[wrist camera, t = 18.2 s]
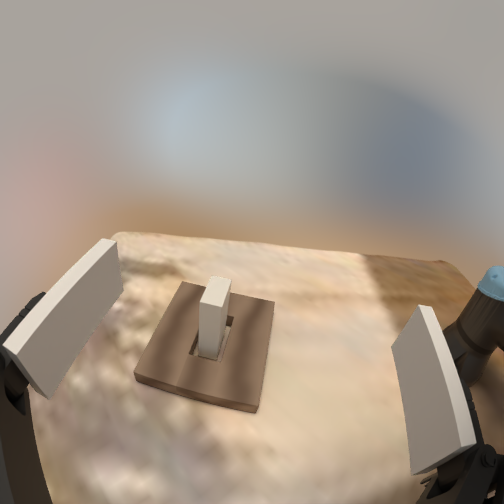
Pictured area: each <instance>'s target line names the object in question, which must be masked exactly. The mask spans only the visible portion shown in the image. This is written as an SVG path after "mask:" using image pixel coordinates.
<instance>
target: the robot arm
mask: <svg viewBox="0 0 504 504" xmlns="http://www.w3.org/2000/svg"><path fill="white" fill-rule="evenodd" d="M123 291H124V290H123V284H122V278H121V272H120V265H119V258H118V250H117V242H116V241H112V240H107V239H104V238H103V239H101V240H100V241H99V242H98V243H97V244H96V245H95V246H94V247H93V248H92V249H91V250H89V251H88V252H87V253H86V254H85V255H84V256H83V257H82V258H81V259H80V260H79V261H78V262H77V263H76V264H75V265H74V266H73V267H72V268H71V269H70V270H69V271H68V272H67V273H66V274H65V275H64V276H63V277H62V278H61V279H60V280H59V281H58V282H57V283H56V284H55V285H54V286H53V287H52V288H51V289H50V290H49V291H48V292H47V293H45V292H42V293H40V294H39V295H37V296H36V297H34V298H32V299H31V300H30V301H29V303H28V304H27V305H26V306H25V308H24V309H22V310H21V312H20V313H19V315H18V316H16V317H15V318H14V320H13V321H12V322H11V323H10V324H9V325H8V327H7V328H6V329H5V330H4V331H3V333H2V334H1V335H0V504H53V503H52V500H51V497H50V494H49V491H48V488H47V485H46V481H45V478H44V474H43V471H42V467H41V463H40V459H39V454H38V450H37V445H36V440H35V435H34V429H33V423H32V416H31V408H30V399H29V392H28V389H27V386H28V384H29V383H30V385H31V386H32V387H33V388H34V390H35V391H36V392H38V393H39V394H41V395H42V396H44V397H45V398H47V399H48V400H50V399H51V397H52V396H53V394H54V392H55V391H56V389H57V387H58V386H59V384H60V382H61V381H62V379H63V378H64V376H65V374H66V373H67V371H68V370H69V368H70V367H71V365H72V363H73V362H74V360H75V359H76V357H77V356H78V354H79V353H80V351H81V350H82V348H83V347H84V345H85V344H86V342H87V341H88V339H89V338H90V337H91V335H92V334H93V332H94V331H95V329H96V328H97V327H98V325H99V324H100V322H101V321H102V319H103V318H104V317H105V315H106V314H107V312H108V311H109V310H110V308H111V307H112V306H113V304H114V303H115V302H116V300H117V299H118V298H119V296H120V295H121V294H122V292H123ZM497 347H499V348H500V349H501V350H503V351H504V267H503V266H493V267H491V268H489V269H488V271H487V272H486V274H485V276H484V277H483V279H482V280H481V281H480V282H479V284H478V288H477V289H476V291H475V293H474V294H473V296H472V297H471V299H470V300H469V302H468V304H467V305H466V307H465V308H464V310H463V311H462V313H461V314H460V316H459V317H458V319H457V320H456V321H455V322H454V323H452V324H451V325H449V326H448V327H447V328H445V329H444V330H443V331H442V330H441V328H440V325H439V323H438V320H437V318H436V316H435V314H434V311H433V309H432V307H429V306H423V305H418V306H417V308H416V310H415V311H414V313H413V314H412V316H411V318H410V319H409V321H408V322H407V324H406V325H405V327H404V329H403V330H402V332H401V333H400V335H399V336H398V338H397V339H396V341H395V342H394V343H393V345H392V346H391V348H392V352H393V356H394V361H395V366H396V370H397V375H398V380H399V385H400V391H401V396H402V402H403V408H404V414H405V421H406V428H407V436H408V444H409V454H410V465H411V475H418V474H423V473H427V472H429V471H431V470H433V469H435V468H437V473H435V474H433V475H431V476H429V477H427V478H425V479H423V480H422V481H421V483H420V484H424V483H426V482H428V481H430V482H429V483H427V484H426V485H425V487H426V488H425V490H424V492H423V493H422V495H421V496H420V498H419V500H418V501H417V503H416V504H504V455H500V454H496V451H495V449H494V448H493V447H492V446H491V445H488V444H484V441H483V437H482V433H481V428H480V424H479V420H478V417H477V413H476V410H475V406H474V402H472V400H473V399H472V395H471V392H470V389H469V387H470V386H472V385H473V384H474V383H475V382H476V381H477V380H478V379H479V378H480V376H481V374H482V372H483V370H484V368H485V366H486V364H487V362H488V360H489V358H490V356H491V354H492V353H493V351H494V350H495V349H496V348H497ZM494 490H496V492H495V496H493V497H491V498H489V499H488V498H487V495H488V493H490V492H492V491H494Z"/></svg>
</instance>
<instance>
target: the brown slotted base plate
mask: <svg viewBox="0 0 504 504" xmlns="http://www.w3.org/2000/svg"><path fill="white" fill-rule="evenodd" d="M205 289H206V287H204V286H200V285H196V284H191V283H187V282H183V281H182V283H181V285H180V286H179V288H178V290H177V292H176V294H175V295H174V297H173V299H172V301H171V302H170V304H169V306H168V308H167V310H166V311H165V313H164V315H163V317H162V319H161V321H160V322H159V324H158V326H157V328H156V330H155V332H154V334H153V335H152V337H151V339H150V341H149V343H148V345H147V347H146V349H145V350H144V352H143V354H142V356H141V358H140V360H139V362H138V364H137V366H136V368H135V370H134V375H135V378H136V381H139V382H142V383H144V384H147V385H150V386H153V387H156V388H159V389H162V390H165V391H168V392H172V393H175V394H178V395H181V396H185V397H188V398H192V399H196V400H199V401H203V402H207V403H211V404H215V405H219V406H223V407H228V408H232V409H237V410H242V411H247V412H252V413H256V411H257V409H258V406H259V401H260V395H261V389H262V383H263V377H264V370H265V364H266V358H267V351H268V345H269V338H270V332H271V325H272V318H273V311H274V304H275V302H272V301H268V300H263V299H258V298H253V297H249V296H244V295H239V294H235V293H230V297H229V304H228V312H227V320H226V325H229V326H231V330H230V333H229V336H228V340H227V343H226V347H225V350H224V353H223V357H222V360H221V362H217V361H213V360H209V359H205V358H201V357H197V356H194V355H192V353H193V351H194V348H195V346H196V343H197V340H198V338H199V308H200V300H201V298H202V296H203V293H204V291H205Z"/></svg>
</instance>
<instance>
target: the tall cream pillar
mask: <svg viewBox="0 0 504 504" xmlns="http://www.w3.org/2000/svg"><path fill="white" fill-rule="evenodd" d="M231 282H232V280H231V279H227V278H222V277H218V276H213V275H212V276H211V278H210V280H209V282H208V285H207V287H206V289H205V291H204V293H203V296H202V298H201V300H200V308H199V344H198V356H202V357H205V358H209V359H213V360H217V357H218V354H219V351H220V347H221V344H222V341H223V338H224V334H225V328H226V320H227V312H228V304H229V297H230V289H231Z"/></svg>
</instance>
